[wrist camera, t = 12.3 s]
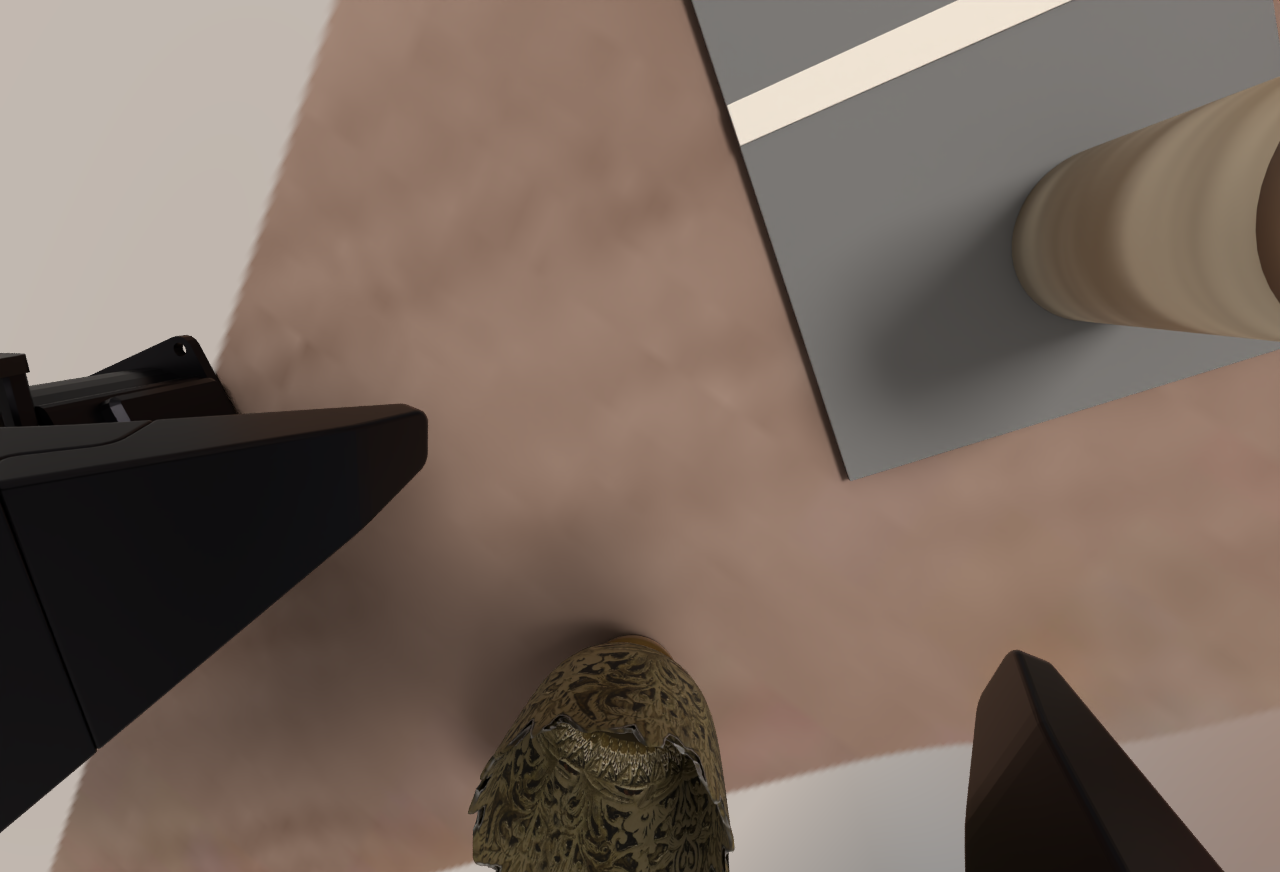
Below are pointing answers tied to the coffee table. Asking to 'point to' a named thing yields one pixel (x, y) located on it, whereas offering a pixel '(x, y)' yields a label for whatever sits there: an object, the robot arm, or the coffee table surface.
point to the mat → (958, 193)
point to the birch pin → (1165, 224)
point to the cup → (607, 772)
